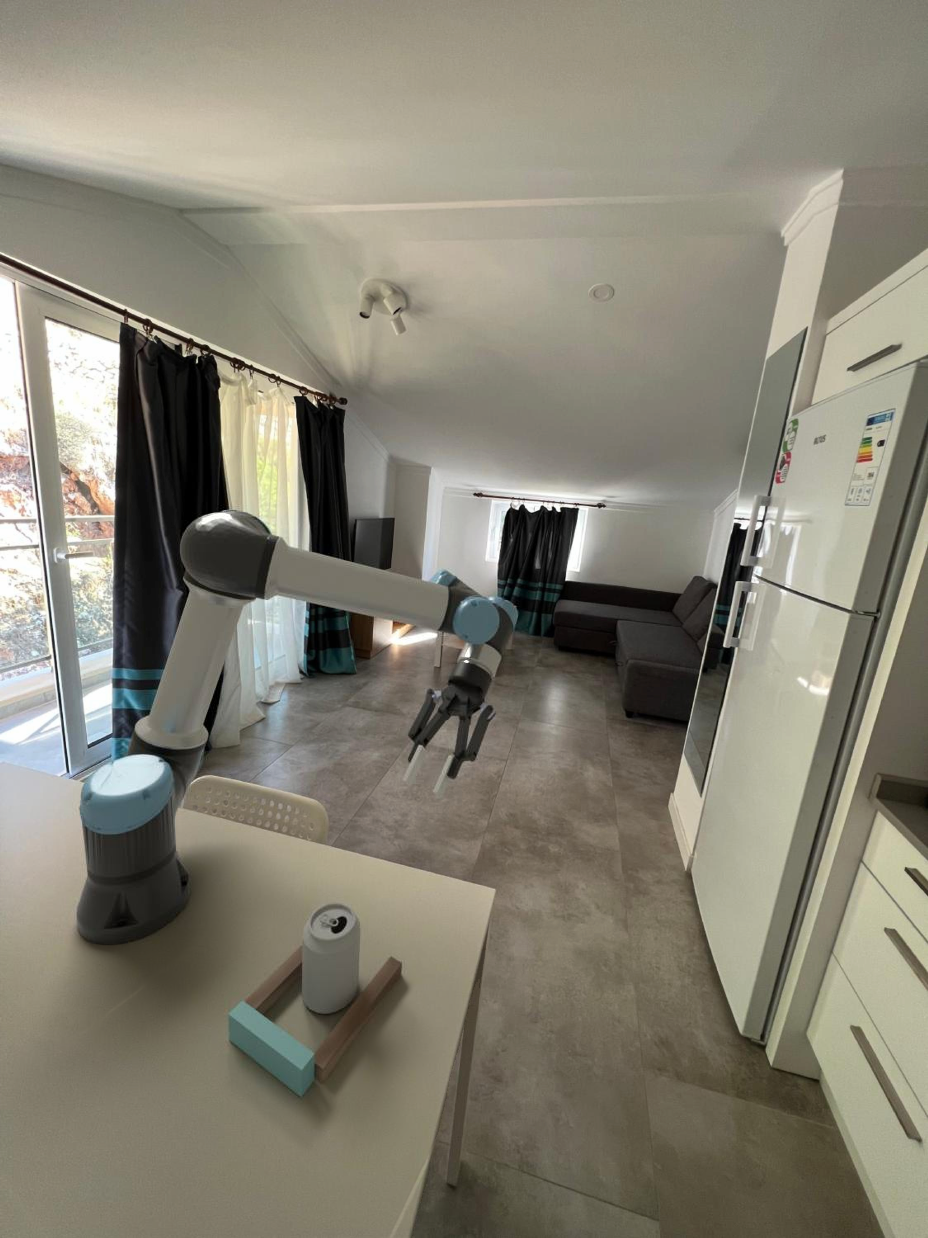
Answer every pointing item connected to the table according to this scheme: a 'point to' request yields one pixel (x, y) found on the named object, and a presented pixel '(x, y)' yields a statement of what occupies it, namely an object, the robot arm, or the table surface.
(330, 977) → the can
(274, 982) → the chute
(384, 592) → the robot arm
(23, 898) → the table surface
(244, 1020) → the bar
